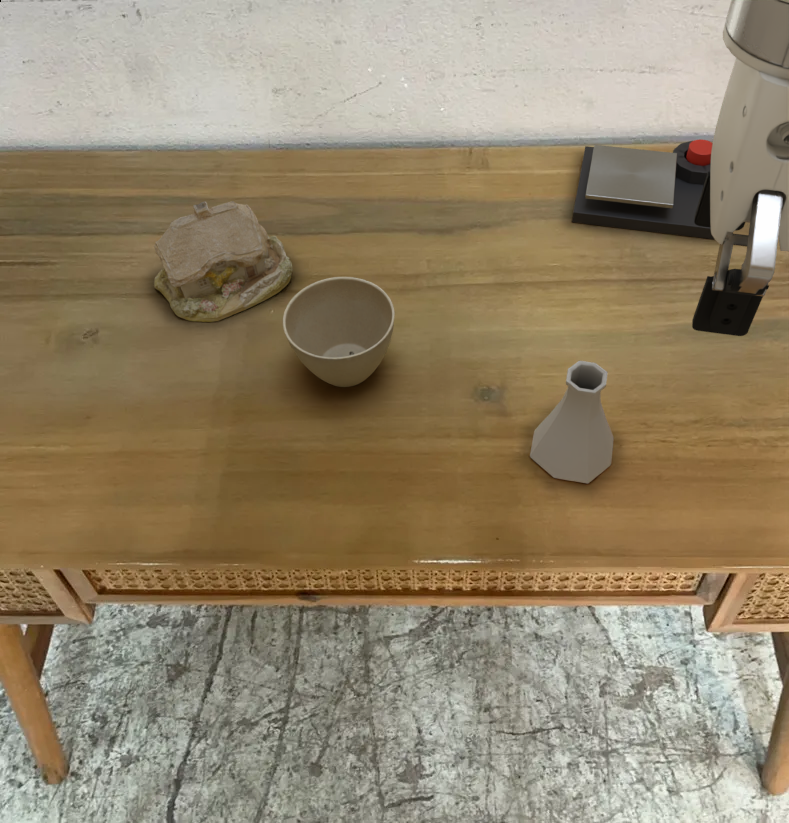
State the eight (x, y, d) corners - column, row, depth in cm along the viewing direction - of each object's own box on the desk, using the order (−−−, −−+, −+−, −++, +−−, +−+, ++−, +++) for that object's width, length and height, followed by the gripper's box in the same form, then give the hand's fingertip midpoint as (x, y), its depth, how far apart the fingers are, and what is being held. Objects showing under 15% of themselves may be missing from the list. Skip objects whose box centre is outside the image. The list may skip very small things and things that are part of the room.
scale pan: (676, 156, 92) (677, 152, 92) (672, 208, 87) (673, 204, 86) (593, 148, 94) (594, 144, 93) (585, 198, 88) (585, 194, 88)
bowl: (281, 347, 82) (269, 294, 76) (377, 317, 83) (372, 264, 78) (311, 422, 76) (300, 371, 70) (413, 389, 78) (411, 337, 72)
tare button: (712, 152, 93) (716, 140, 91) (711, 168, 91) (715, 155, 90) (686, 150, 93) (689, 138, 92) (685, 165, 92) (688, 153, 90)
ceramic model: (170, 336, 83) (141, 262, 75) (148, 266, 90) (119, 191, 82) (303, 295, 86) (289, 218, 78) (272, 230, 92) (256, 153, 84)
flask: (627, 436, 73) (649, 362, 65) (593, 497, 70) (612, 427, 62) (551, 404, 76) (564, 329, 68) (515, 461, 72) (524, 389, 64)
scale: (720, 166, 95) (727, 143, 93) (718, 240, 88) (725, 217, 85) (584, 151, 98) (587, 129, 96) (571, 222, 91) (575, 200, 88)
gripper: (923, 124, 34) (786, 386, 48) (875, -65, 44) (773, 196, 58) (732, 108, 35) (652, 367, 49) (728, -72, 45) (662, 185, 59)
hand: (717, 274), depth 53 cm, fingers open, 9 cm apart
